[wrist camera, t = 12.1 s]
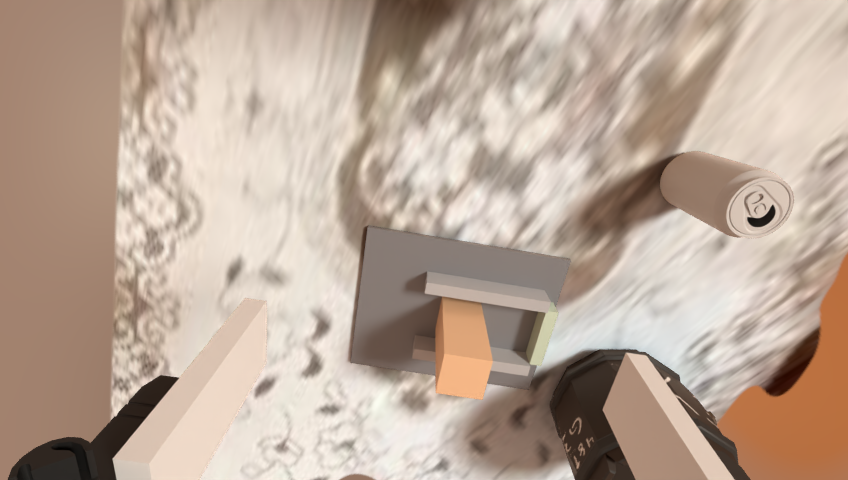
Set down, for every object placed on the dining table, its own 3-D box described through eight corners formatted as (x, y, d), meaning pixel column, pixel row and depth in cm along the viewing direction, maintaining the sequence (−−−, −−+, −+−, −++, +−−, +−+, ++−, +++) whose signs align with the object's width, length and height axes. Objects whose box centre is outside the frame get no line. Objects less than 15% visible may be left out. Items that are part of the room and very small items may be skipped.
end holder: (368, 225, 51) (363, 236, 48) (569, 258, 52) (578, 271, 49) (351, 359, 58) (346, 377, 55) (527, 386, 59) (533, 405, 56)
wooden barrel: (685, 425, 61) (764, 535, 47) (563, 453, 64) (601, 566, 49) (669, 324, 55) (754, 414, 41) (535, 359, 58) (569, 456, 43)
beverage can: (668, 214, 50) (736, 255, 39) (647, 169, 48) (712, 198, 37) (722, 186, 48) (808, 220, 37) (703, 138, 47) (788, 158, 35)
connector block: (442, 295, 54) (444, 353, 43) (480, 301, 54) (493, 361, 43) (435, 328, 56) (435, 392, 44) (472, 334, 56) (482, 399, 45)
